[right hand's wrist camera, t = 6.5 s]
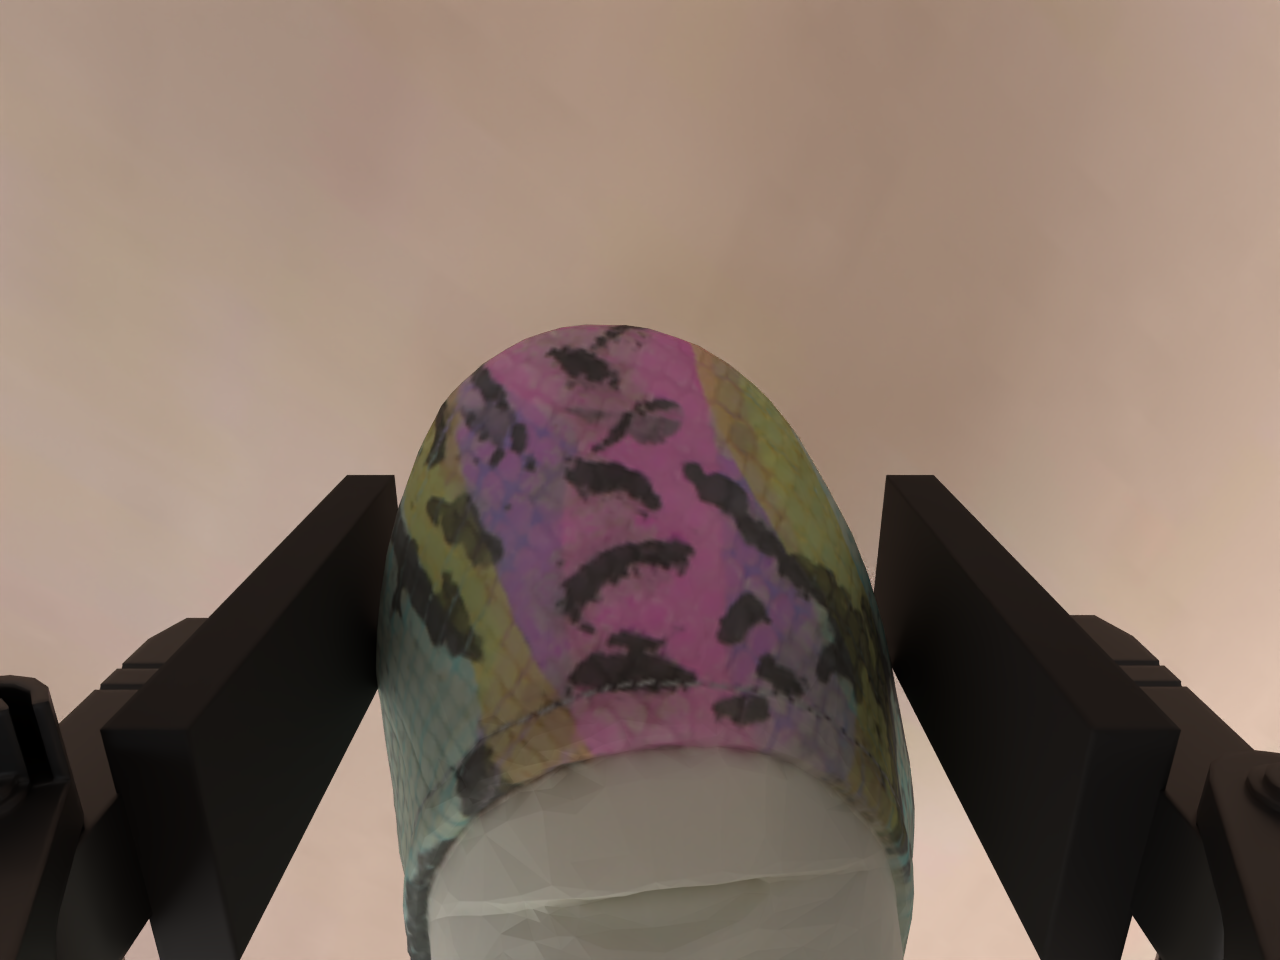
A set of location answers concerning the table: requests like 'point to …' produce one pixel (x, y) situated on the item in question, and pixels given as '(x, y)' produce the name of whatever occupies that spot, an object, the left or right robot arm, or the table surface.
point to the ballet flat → (636, 674)
